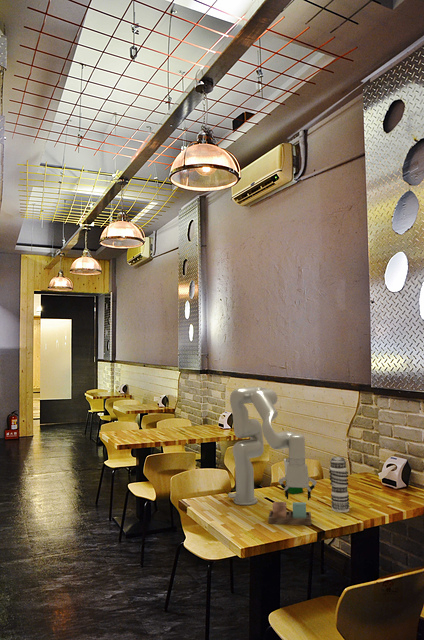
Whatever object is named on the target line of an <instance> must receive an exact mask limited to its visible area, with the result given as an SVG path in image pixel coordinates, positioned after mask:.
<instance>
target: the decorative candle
mask: <svg viewBox="0 0 424 640" xmlns="http://www.w3.org/2000/svg"><path fill="white" fill-rule="evenodd" d="M329 462H330V463H329V464H330V467H329V471H328V473H329V481H330V486H331V494H330V497H331V498H330V499H331V510H332V511H334V512H336V513H347V512H349V511H350V498H349V497H350V496H349V491H348V486H349V479H348V477H349V472H348V471H347V470H348V468H347V460H346V459H345V458H344V456H333V457H331V459H330V460H329Z"/></svg>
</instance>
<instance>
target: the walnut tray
mask: <svg viewBox="0 0 424 640" xmlns="http://www.w3.org/2000/svg"><path fill="white" fill-rule="evenodd" d="M311 513H312V512H311V511H306V518H293V510H292V511H289V510H287V501H273V503H272V510H269V514H268V525H269V524H270V525H287V524H288V525H293V526H294V525H295V526H312V514H311Z"/></svg>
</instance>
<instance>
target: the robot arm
mask: <svg viewBox="0 0 424 640" xmlns="http://www.w3.org/2000/svg"><path fill="white" fill-rule="evenodd" d="M277 402H278V395H277V392H276V391H274V389H271V388H267V387H261V386H249V387H239V388H236V389H234V390H232V391H231V393H230V396H229V404H230V409H231V413H232V423H233V432H234V435H235V437H236V438H238V439H245V440H240V441H237V442H235V443H234V444H233V447H232V455H233V457H234V468H235V469H234V470H235V471H234V472H235V492H234V493H228V494H227V497H228V498H229V499H233V503H234V504H236V505H240V506H250V505H255V504H257V503H258V498H257V497H255V485H254V483H255V482H254V481H255V480H254V479H255V478H254V466H253V463H252V462H251V460H250V459H253V458H258V457H261V456H262V455H263V454H264V450H265V445H264V439H265V441H266V442H267V444H268V445H269V447H270V448H272V449H273V450H282V449H283V450H284V449H288V458H285V459H286V462H288V463H289V464H287V473H286V476H284V477H282V478H279V479H278V483H279V484H280V487H281V488H283V490H284V497H285V498H286V500H289V493H288V488H289V487H295V488H303V489H307V500H308V501H310V499H311V498H312V494H311V493H312V491H313V489H315V487H316V485H317V480H315V479H313V478H311V477H310V476H309V470H308V465H307V464H306V441H305V439H306V438H305V436H304V435H303V434H300V433H296V432H293V431H290V430H289V431H288V430H287V431H281V432H276V431H275V429H274V428H273V426H272V422H273V421H274V420H275V419H276V418H277V417H278V415H279V411H278V410H277V409H276V407H275V405H276V404H277ZM245 404H252V405H253V407H254V408H255V409H256V411H257V413H258V414H259V416H260V418H261V419H262V423H261V422H260V421H259V420H258V419H256V418H250V417H249V410H248V409H247V407H246V405H245ZM247 438H249V439H247ZM284 481H285V484H284ZM310 482H311V483H312V484H311V486H310ZM286 483H287V485H286Z"/></svg>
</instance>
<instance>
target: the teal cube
mask: <svg viewBox="0 0 424 640" xmlns="http://www.w3.org/2000/svg"><path fill="white" fill-rule="evenodd" d="M306 505H307V502H298V501H296V502H293V501H292V511H293V518H306V512H307V506H306Z"/></svg>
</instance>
